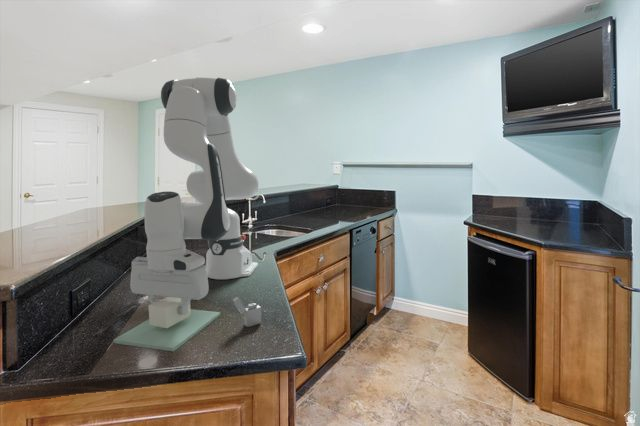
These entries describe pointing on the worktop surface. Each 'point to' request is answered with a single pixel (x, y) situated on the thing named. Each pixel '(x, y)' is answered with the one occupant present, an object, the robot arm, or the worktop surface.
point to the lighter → (249, 312)
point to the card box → (166, 312)
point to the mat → (167, 332)
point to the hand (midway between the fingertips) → (170, 312)
